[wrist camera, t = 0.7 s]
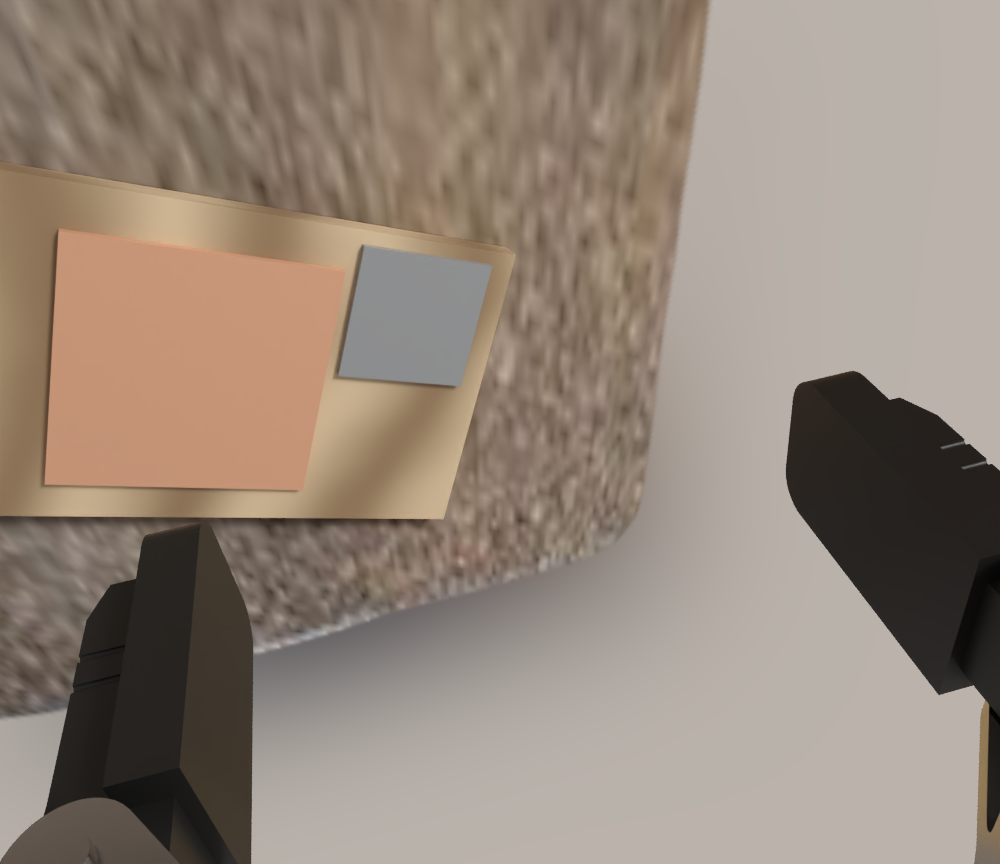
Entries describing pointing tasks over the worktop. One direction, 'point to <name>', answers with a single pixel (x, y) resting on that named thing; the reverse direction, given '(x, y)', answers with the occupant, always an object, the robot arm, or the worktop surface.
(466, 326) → the slate tile
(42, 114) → the worktop surface
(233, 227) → the oak board
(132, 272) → the terracotta pad
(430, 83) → the worktop surface
